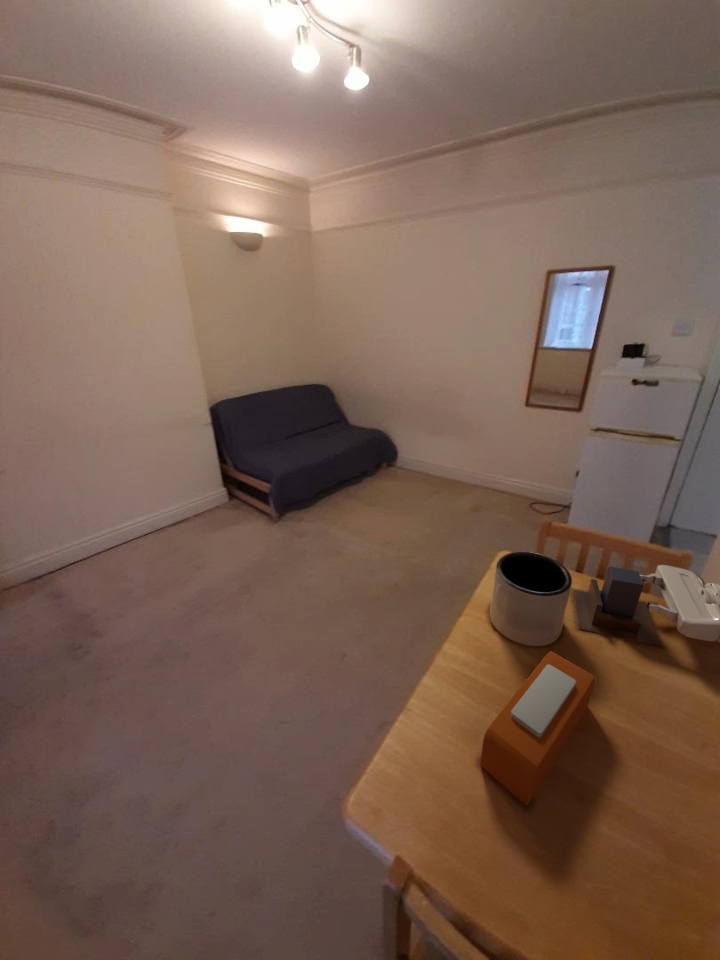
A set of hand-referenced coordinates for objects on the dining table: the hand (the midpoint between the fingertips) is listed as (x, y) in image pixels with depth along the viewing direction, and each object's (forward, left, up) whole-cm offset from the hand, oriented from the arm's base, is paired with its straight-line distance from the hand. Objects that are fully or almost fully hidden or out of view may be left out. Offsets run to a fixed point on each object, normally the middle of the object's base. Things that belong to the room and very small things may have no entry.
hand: (642, 592), depth 91 cm
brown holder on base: (+3, +3, -10) cm, 10 cm away
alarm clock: (-5, +42, -10) cm, 43 cm away
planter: (+14, +21, -10) cm, 27 cm away
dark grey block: (+3, +3, -8) cm, 9 cm away
